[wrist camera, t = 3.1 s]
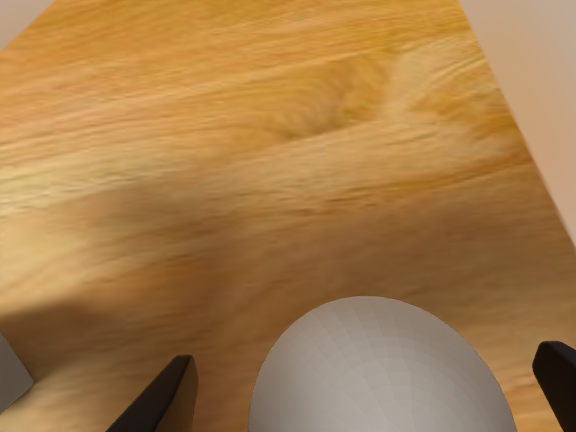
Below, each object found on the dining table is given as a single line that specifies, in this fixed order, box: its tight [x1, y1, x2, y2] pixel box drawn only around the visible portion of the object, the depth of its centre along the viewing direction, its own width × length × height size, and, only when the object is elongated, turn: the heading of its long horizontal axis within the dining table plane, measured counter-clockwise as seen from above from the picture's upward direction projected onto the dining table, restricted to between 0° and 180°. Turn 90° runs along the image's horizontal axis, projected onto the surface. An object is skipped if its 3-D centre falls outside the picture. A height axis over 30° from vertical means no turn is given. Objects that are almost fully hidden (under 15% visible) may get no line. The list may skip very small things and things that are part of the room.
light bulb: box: [248, 296, 517, 432], centre depth 10 cm, size 6×6×10 cm
